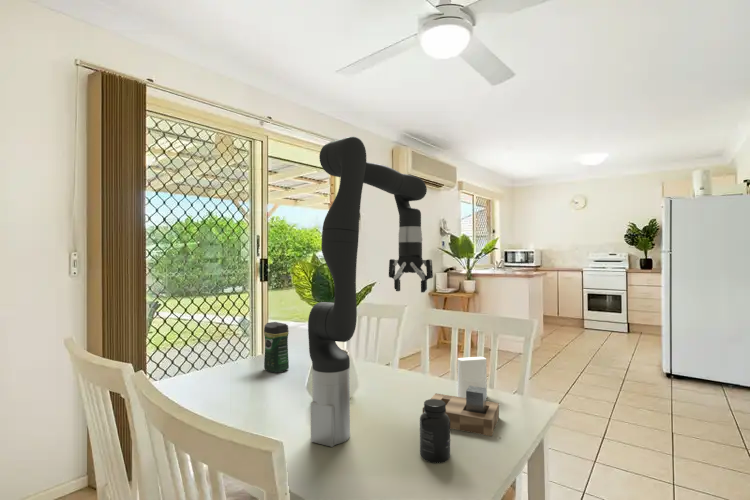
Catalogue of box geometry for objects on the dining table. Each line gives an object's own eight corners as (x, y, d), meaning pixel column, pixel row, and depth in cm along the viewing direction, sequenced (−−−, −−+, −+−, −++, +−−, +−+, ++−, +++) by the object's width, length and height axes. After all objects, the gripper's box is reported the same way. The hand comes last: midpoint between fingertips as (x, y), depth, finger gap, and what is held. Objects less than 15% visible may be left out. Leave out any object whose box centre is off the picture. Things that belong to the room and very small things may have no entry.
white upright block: (465, 403, 118) (464, 363, 118) (453, 392, 127) (452, 355, 127) (492, 400, 120) (491, 361, 120) (478, 390, 129) (478, 354, 129)
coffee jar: (292, 370, 152) (292, 322, 152) (274, 374, 146) (274, 325, 146) (278, 365, 158) (278, 319, 158) (260, 369, 153) (260, 322, 153)
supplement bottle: (456, 461, 85) (455, 406, 85) (427, 466, 83) (427, 410, 83) (442, 446, 92) (441, 395, 92) (415, 451, 90) (414, 398, 90)
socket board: (491, 436, 96) (491, 420, 96) (422, 422, 104) (422, 408, 104) (498, 417, 107) (498, 403, 107) (435, 406, 115) (435, 393, 115)
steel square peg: (483, 428, 101) (483, 393, 101) (466, 424, 103) (466, 390, 103) (486, 421, 105) (486, 388, 105) (469, 418, 107) (469, 385, 107)
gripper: (385, 241, 125) (385, 291, 125) (427, 240, 119) (428, 293, 119) (394, 241, 132) (394, 289, 131) (435, 241, 125) (435, 291, 125)
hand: (410, 291), depth 125 cm, fingers open, 8 cm apart
